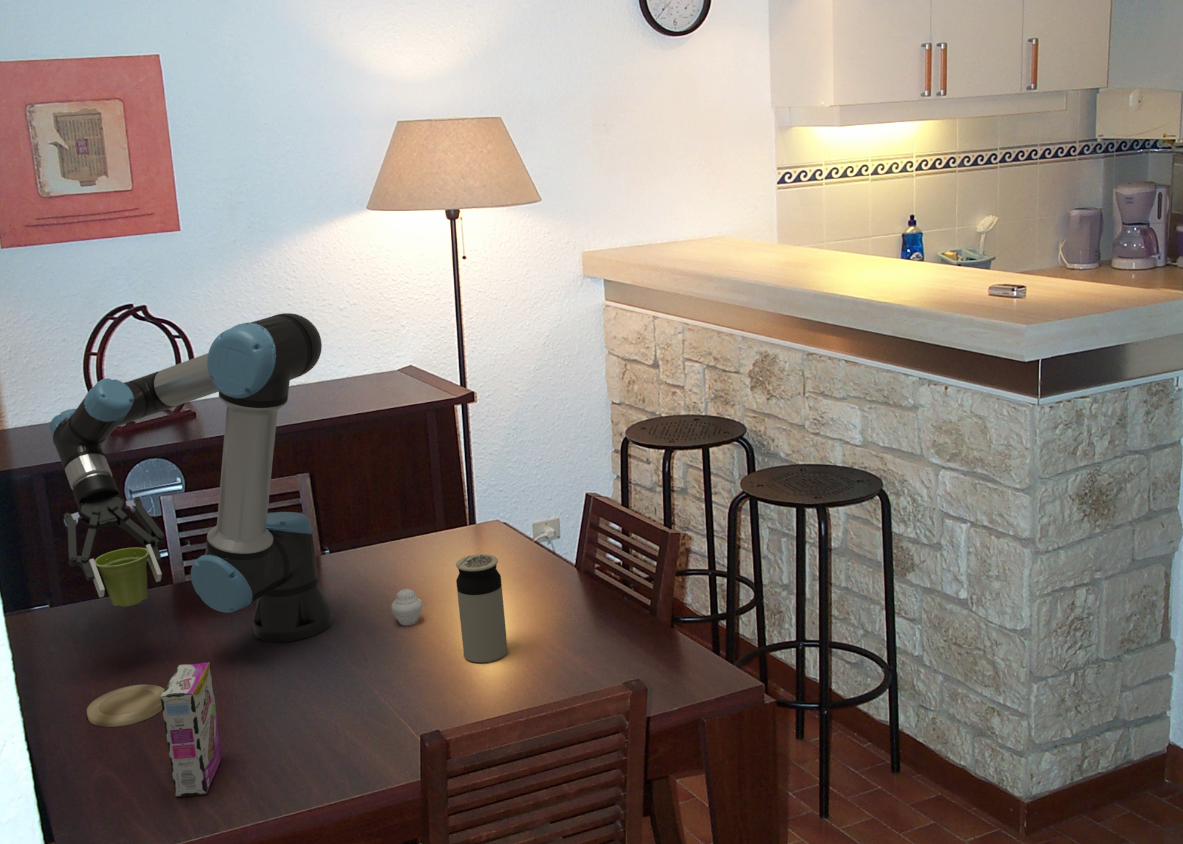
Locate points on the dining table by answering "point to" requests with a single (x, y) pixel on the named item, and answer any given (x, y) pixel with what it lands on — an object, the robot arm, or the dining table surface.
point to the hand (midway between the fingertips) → (130, 585)
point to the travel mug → (481, 608)
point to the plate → (125, 706)
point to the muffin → (406, 607)
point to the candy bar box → (191, 729)
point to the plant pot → (125, 575)
